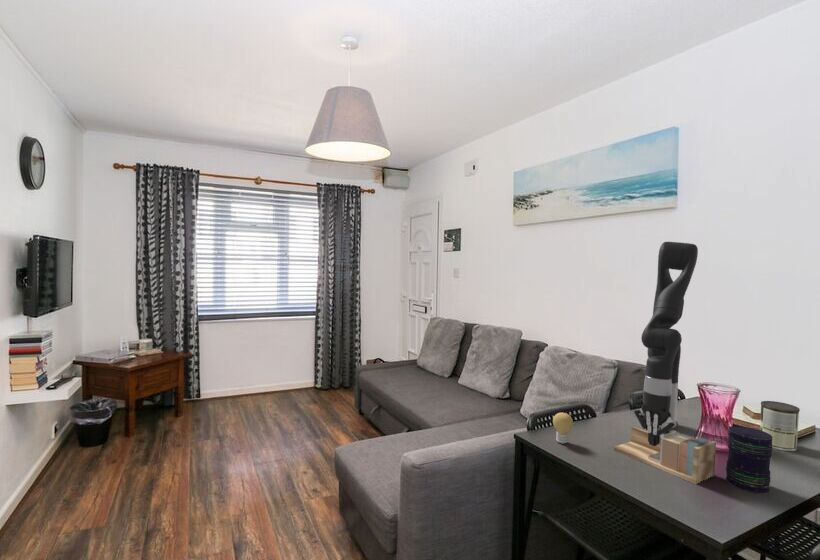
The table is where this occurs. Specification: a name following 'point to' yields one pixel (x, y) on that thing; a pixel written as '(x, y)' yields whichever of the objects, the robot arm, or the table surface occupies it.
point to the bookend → (658, 456)
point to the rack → (692, 461)
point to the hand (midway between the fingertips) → (653, 444)
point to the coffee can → (780, 424)
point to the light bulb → (562, 426)
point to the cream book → (671, 451)
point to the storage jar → (749, 459)
